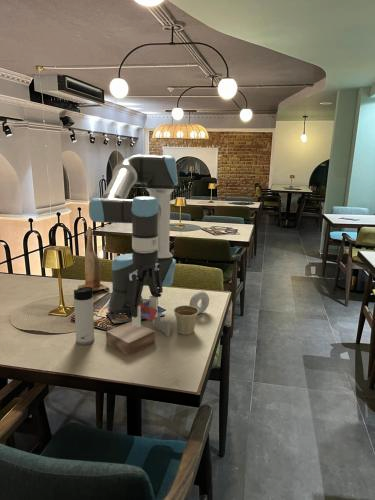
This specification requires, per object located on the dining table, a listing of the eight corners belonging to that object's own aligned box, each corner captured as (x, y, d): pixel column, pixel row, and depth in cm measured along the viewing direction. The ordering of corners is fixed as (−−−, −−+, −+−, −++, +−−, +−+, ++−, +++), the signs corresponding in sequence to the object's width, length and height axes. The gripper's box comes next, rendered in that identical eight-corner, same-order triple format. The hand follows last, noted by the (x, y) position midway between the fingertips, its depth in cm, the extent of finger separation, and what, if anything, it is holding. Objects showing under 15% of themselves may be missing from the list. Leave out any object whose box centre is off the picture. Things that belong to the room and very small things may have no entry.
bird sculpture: (97, 285, 186) (93, 223, 179) (110, 291, 178) (107, 226, 171) (77, 291, 179) (72, 225, 171) (90, 297, 171) (85, 229, 163)
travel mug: (85, 347, 127) (83, 292, 122) (72, 341, 130) (69, 288, 125) (98, 340, 132) (97, 287, 127) (85, 335, 135) (83, 283, 130)
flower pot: (180, 339, 134) (180, 317, 132) (169, 328, 142) (169, 307, 140) (202, 334, 139) (203, 313, 136) (190, 323, 147) (191, 303, 144)
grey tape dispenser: (167, 336, 136) (152, 325, 144) (170, 335, 137) (155, 324, 145) (167, 322, 135) (152, 312, 142) (170, 321, 136) (155, 311, 143)
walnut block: (106, 344, 130) (106, 331, 129) (132, 332, 139) (132, 320, 137) (128, 356, 122) (128, 343, 121) (154, 344, 131) (154, 331, 130)
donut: (192, 317, 152) (193, 295, 150) (187, 315, 155) (188, 292, 152) (210, 312, 158) (211, 290, 156) (205, 309, 161) (206, 287, 158)
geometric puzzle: (163, 311, 117) (148, 291, 116) (160, 320, 110) (144, 300, 109) (145, 322, 118) (129, 303, 117) (141, 332, 112) (125, 312, 110)
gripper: (132, 260, 98) (132, 337, 104) (175, 245, 115) (173, 312, 121) (111, 255, 102) (112, 330, 108) (155, 241, 119) (155, 306, 125)
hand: (145, 320), depth 114 cm, fingers closed on geometric puzzle, 8 cm apart
